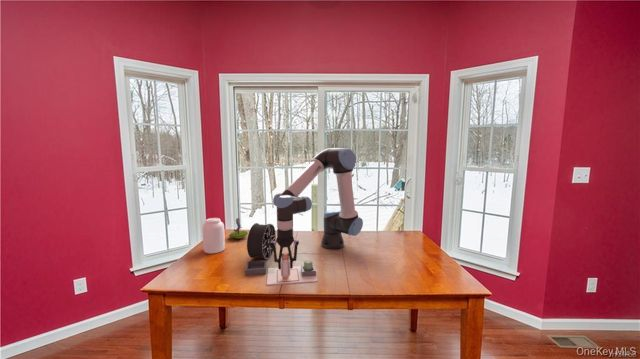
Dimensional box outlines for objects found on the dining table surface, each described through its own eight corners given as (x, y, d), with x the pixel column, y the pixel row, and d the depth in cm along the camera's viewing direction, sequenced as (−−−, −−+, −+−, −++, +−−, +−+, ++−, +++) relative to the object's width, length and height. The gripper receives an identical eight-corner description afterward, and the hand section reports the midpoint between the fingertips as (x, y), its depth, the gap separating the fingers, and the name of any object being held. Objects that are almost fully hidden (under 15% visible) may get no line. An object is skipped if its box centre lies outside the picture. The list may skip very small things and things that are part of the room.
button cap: (311, 267, 139) (311, 260, 139) (313, 271, 135) (313, 263, 134) (303, 268, 138) (303, 260, 138) (304, 272, 134) (304, 264, 134)
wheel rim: (262, 265, 147) (262, 229, 144) (247, 263, 148) (246, 228, 146) (275, 251, 166) (275, 219, 164) (262, 250, 168) (261, 219, 165)
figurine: (231, 235, 196) (230, 215, 194) (249, 234, 197) (248, 214, 195) (226, 241, 182) (226, 220, 180) (246, 241, 183) (245, 219, 181)
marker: (288, 275, 133) (288, 252, 131) (289, 279, 129) (288, 255, 128) (282, 276, 132) (281, 253, 131) (282, 279, 129) (281, 255, 127)
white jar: (207, 255, 159) (206, 223, 156) (200, 249, 168) (199, 218, 166) (228, 250, 167) (227, 219, 164) (220, 245, 176) (219, 215, 174)
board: (312, 266, 146) (312, 264, 146) (317, 281, 129) (317, 280, 129) (268, 269, 142) (268, 267, 142) (266, 285, 125) (266, 284, 125)
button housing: (314, 269, 141) (314, 264, 140) (315, 275, 134) (315, 270, 134) (300, 270, 140) (300, 265, 139) (302, 276, 133) (302, 271, 132)
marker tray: (266, 265, 146) (266, 260, 146) (265, 274, 136) (265, 268, 136) (247, 266, 145) (247, 261, 144) (245, 275, 135) (245, 269, 135)
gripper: (301, 225, 133) (301, 270, 136) (268, 226, 130) (269, 272, 133) (302, 229, 125) (302, 277, 128) (267, 231, 123) (268, 279, 126)
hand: (285, 274), depth 131 cm, fingers closed on marker, 3 cm apart
